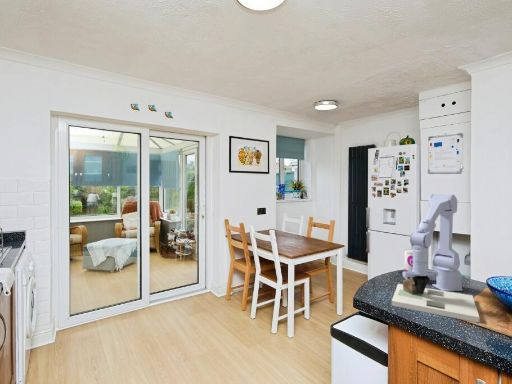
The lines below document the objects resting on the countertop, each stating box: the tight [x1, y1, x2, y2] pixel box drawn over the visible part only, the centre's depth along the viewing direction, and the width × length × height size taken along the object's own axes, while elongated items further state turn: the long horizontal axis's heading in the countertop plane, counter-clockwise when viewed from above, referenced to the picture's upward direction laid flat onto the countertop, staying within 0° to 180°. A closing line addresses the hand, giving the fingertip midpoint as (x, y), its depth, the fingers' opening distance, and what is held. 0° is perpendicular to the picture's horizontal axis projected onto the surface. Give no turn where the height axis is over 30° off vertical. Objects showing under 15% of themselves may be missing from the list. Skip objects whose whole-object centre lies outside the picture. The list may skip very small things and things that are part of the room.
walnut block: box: [402, 279, 418, 295], centre depth 125 cm, size 5×5×4 cm
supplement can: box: [403, 248, 413, 280], centre depth 145 cm, size 8×8×15 cm
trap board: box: [391, 283, 480, 323], centre depth 118 cm, size 28×23×2 cm
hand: (420, 293), depth 120 cm, fingers closed
